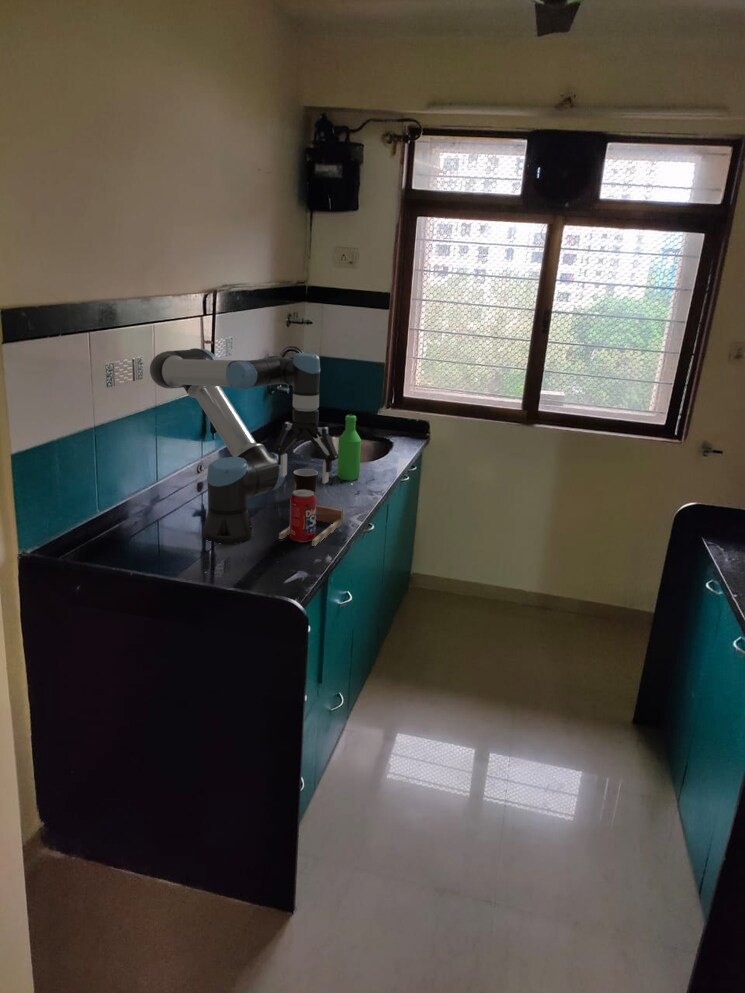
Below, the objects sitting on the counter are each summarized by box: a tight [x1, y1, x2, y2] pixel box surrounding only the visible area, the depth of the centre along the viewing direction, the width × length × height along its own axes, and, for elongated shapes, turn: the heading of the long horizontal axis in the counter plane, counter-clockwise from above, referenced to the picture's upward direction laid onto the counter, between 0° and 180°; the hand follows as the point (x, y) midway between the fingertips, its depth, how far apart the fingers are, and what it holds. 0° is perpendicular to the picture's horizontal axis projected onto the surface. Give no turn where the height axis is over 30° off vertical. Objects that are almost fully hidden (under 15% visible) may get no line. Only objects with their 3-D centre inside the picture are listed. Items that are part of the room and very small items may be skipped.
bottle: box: [336, 414, 362, 482], centre depth 274 cm, size 9×9×25 cm
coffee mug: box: [293, 468, 319, 496], centre depth 251 cm, size 12×9×10 cm
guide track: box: [278, 504, 344, 547], centre depth 221 cm, size 22×12×5 cm, turn 160°
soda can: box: [289, 490, 317, 543], centre depth 213 cm, size 8×8×15 cm
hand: (304, 479), depth 210 cm, fingers open, 13 cm apart
